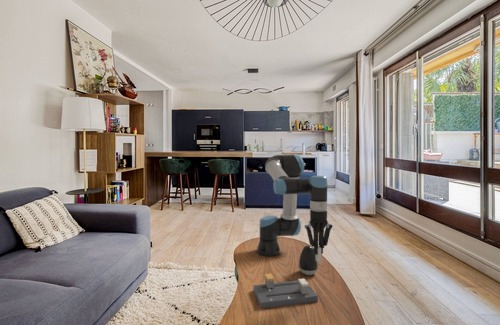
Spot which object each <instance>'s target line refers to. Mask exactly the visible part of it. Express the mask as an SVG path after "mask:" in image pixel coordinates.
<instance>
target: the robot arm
mask: <svg viewBox="0 0 500 325" xmlns="http://www.w3.org/2000/svg"><path fill="white" fill-rule="evenodd" d="M264 164H265V165H264V167H265V171H266V173H267V174H268V175H270V177H271V178H272V180H273V183H272V184H273V192H274V194H275V195H283V202H282V203H283V205H282V213H281V214H280V217H278V216H276V215H265V216H262V217H261V218H260V219H259V241H258V245H257V248H256V253H257V254H258V255H260V256H264V257H275V256H278V255H279V254H280V253H281V248H280V244H279V242H278V237H290V236H291V237H294V236H298V235H299V234H300V232H301V228H302V221H301V219H300V217H299V215H298V214H297V206H298V205H297V202H298V195H303V194H304V195H305V194H306V195H309V201H310V202H309V209H310V210H309V219H310V220H309V222H308V224H305V225H304V228H305V230H306V233H307V237H308V242H309V246H311V247H312V248H313V249H314V254H316V261H317V262H318V263H321V262H322V255H323V254H324V249H325V247H326V246H328V242H329V237H330V233H331V230H332V228H333V225H332V224H331V223H329V221H328V211H327V210H328V184H329V183H328V177H327V176H325V175H312V176H310V177H305V178H301V174H303V173H304V170H305V165H304V164H305V163H304V160H303V157H302V156H301V155H299V154H276V155H273V156H270V157H269V158H268V159H267V160H266V162H265V163H264ZM312 231H313V232H312Z"/></svg>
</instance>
